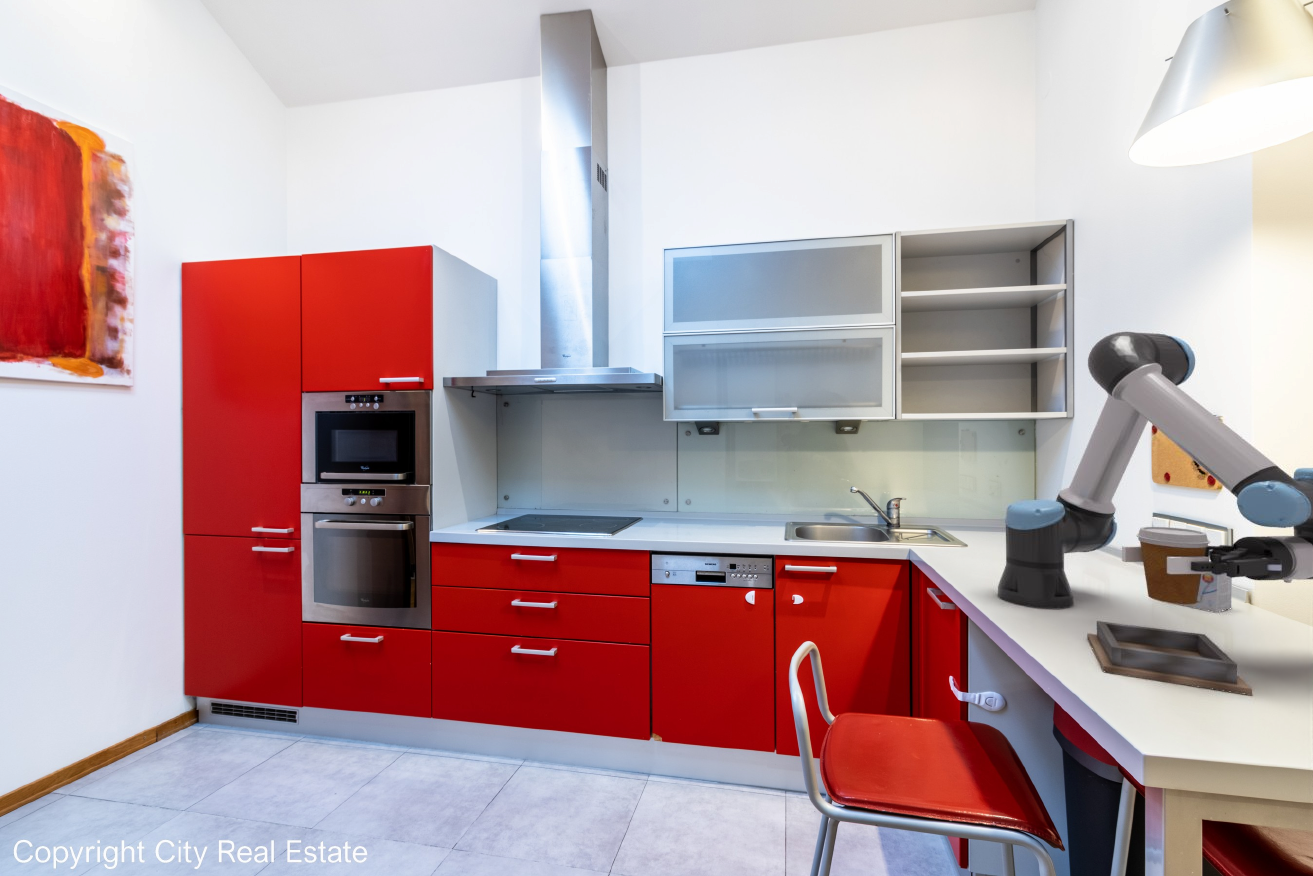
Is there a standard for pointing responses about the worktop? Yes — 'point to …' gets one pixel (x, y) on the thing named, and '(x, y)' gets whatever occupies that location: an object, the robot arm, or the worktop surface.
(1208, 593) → the light bulb box
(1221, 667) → the cup holder plate
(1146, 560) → the disposable coffee cup
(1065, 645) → the worktop surface
